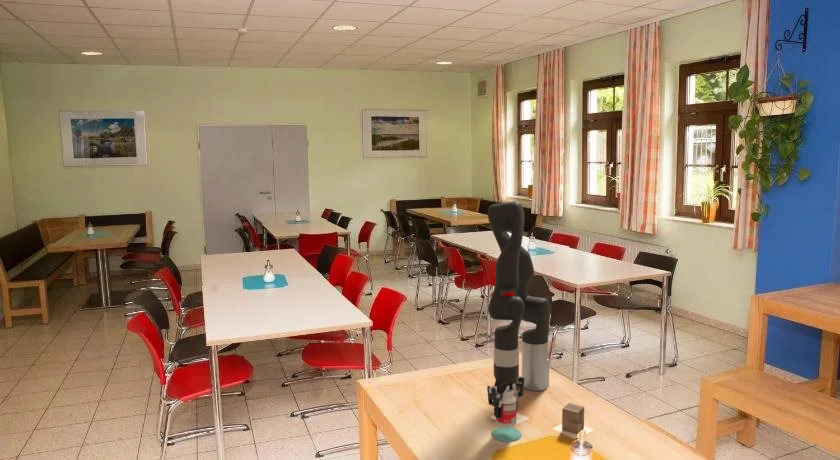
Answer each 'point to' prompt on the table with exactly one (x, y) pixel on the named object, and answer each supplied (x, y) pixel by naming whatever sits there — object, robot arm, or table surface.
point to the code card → (519, 418)
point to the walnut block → (573, 418)
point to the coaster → (506, 434)
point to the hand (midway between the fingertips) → (506, 414)
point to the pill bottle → (508, 410)
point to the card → (559, 429)
